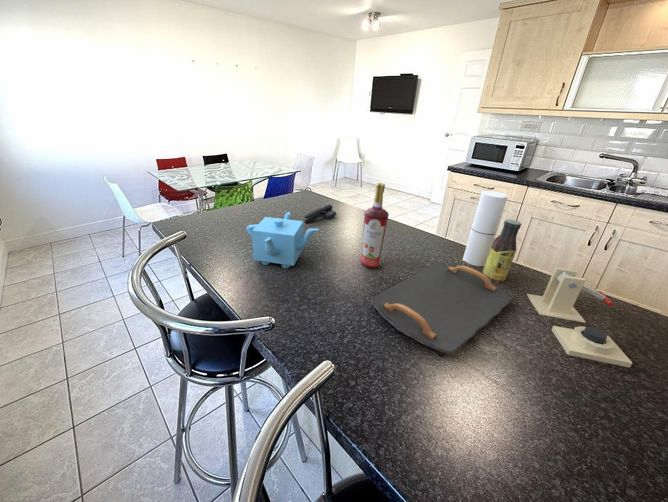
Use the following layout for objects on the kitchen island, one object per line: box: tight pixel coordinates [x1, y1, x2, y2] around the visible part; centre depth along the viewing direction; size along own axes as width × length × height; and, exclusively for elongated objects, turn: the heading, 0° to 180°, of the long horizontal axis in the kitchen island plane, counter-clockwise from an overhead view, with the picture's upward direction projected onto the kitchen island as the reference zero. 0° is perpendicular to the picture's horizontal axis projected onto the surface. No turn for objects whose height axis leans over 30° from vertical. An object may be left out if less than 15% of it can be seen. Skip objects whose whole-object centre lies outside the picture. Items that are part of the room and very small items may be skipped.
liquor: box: [359, 182, 390, 269], centre depth 94 cm, size 7×7×28 cm
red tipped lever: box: [557, 272, 615, 307], centre depth 75 cm, size 12×5×2 cm, turn 74°
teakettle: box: [246, 211, 320, 269], centre depth 99 cm, size 19×19×15 cm
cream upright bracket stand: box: [526, 267, 587, 324], centre depth 77 cm, size 10×9×12 cm
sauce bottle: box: [482, 218, 522, 284], centre depth 89 cm, size 6×6×20 cm
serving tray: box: [370, 263, 514, 358], centre depth 79 cm, size 39×23×6 cm, turn 127°
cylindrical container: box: [462, 190, 509, 267], centre depth 97 cm, size 7×7×25 cm
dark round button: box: [582, 326, 608, 344], centre depth 65 cm, size 4×4×2 cm
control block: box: [551, 325, 633, 368], centre depth 66 cm, size 11×8×4 cm
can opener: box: [303, 204, 337, 224], centre depth 134 cm, size 18×7×6 cm, turn 129°
